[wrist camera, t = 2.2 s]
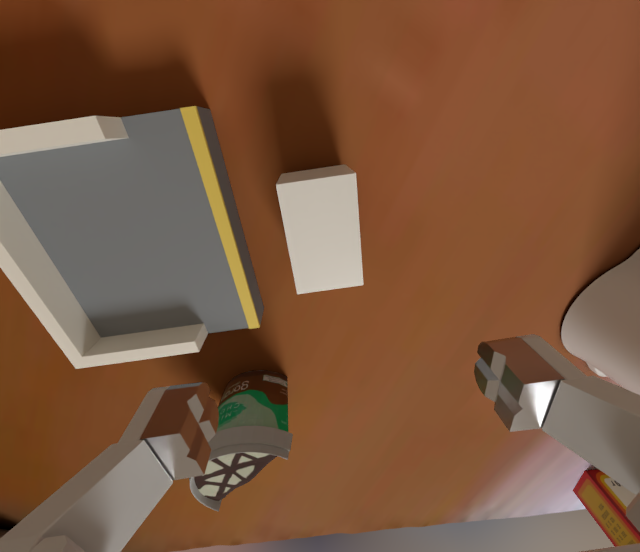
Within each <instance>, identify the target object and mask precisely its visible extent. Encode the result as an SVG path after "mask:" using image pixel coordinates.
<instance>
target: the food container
mask: <svg viewBox="0 0 640 552" xmlns="http://www.w3.org/2000/svg"><path fill="white" fill-rule="evenodd" d="M218 412H219V421H218V428H217V431H216V435H215V436H214V437H213V438H212V439H211V440H210V441H209V442H208V443H209V445H210V448H211V453H210V457H209V460H208V464H207V467H206V471H205V474H204V475H201V476H196V477H190V478H189V480H190V489H191V492H192V494H193V495H194V497H195V498H196V499H197V500H198V501H199V502H201V503H202V504H203V505H205V506H207V507H209V508H211V509H213V510H216V511H219V508H220V504H221V500H222V499H223V498H224V497H225V496H226V495H227V494H228V493H230V492H231V491H233V490H234V489H235V488H237V487H239V486H241V485H244V484H245V483H247V482H249V481H250V480H251V479H253V478H254V477H255V476H256V475H257V474H258V473H259V472H260V471H261V470H262V469H263V468H264V467H265V466H266V465H267V464H268V463H269V462H270V461H272V460H273V459H274V458H275V457H277V456H279V457H282V458H285V459H287V460H288V454H289V451H290V449H291V442H292V436H293V434H291V433H289V432H288V392H287V377H286V376H284V375H282V374H280V373H276V372H271V371H267V370H253V371H249V372H245V373H242V374H240V375H238V376H236V377H234V378H233V379H232V380H231V381H230V382H229V383H228V384H227V386H226V388H225V391H224V393H223V396H222V398H221V401H220V403H219V406H218Z"/></svg>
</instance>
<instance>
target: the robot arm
mask: <svg viewBox="0 0 640 552" xmlns="http://www.w3.org/2000/svg"><path fill="white" fill-rule="evenodd" d="M561 338H562V342H563V345H564V347H565V348H566V349H567V350H568V351H569V352H570V353H571V354H573V355H574V356H576V357H578V358H580V359H582V360H584V361H585V362H586V363H587V365H588V367H589V368H590V369H591V370H592V371H593V372H595V373H596V374H598V375H599V376H602V377H604V376H608V377H609V378H611V379H612V380H614V381H615V382H616V383H618V384H619V385H621V386H622V387H624V388H625V389H624V388H622V387H619V386H617V385H614V384H612V383H609V382H607V381H605V380H602V379H600V378H597V377H595V376H588V377H587V376H586V375H585V374H584V373H583V372H581V371H580V370H579V369H578V368H577V367H575V366H574V365H573V364H572V363H571V362H569V361H568V360H567V359H566V358H565V357H564V356H562V355H561V354H560V353H559V352H558V351H556V350H555V349H554V348H553V347H552V346H551V345H549V344H548V343H547V342H546V341H545V340H543V339H542V338H541V337H540V336H537V335H535V334H531V335H525V336H518V337H512V338H505V339H499V340H492V341H486V342H481V343H480V345H479V346H478V351H477V353H478V354H479V355H480V357H481V358H480V359H479V360H478V361H477V362H476V363H475V369H474V373H475V378H476V382H477V384H478V386H479V388H480V390H481V391H482V393H483V394H484V396H486V397H487V398H489V399H491V400H492V401H494V402H495V406H494V410H495V411H496V413H497V414H498V416H499V417H500V419H501V420H502V421H503V423H504V424H505V426H506V427H507V428H508V430H509V431H510V432H511V431H520V430H529V429H538V428H542V430H543V431H544V432H546V433H547V434H549V435H550V436H551V437H553V438H554V439H556V440H557V441H559V442H560V443H562V444H563V445H564V446H566V447H567V448H569V449H570V450H572V451H573V452H575V453H576V454H577V455H579V456H580V457H582V458H583V459H585V460H586V461H588V462H589V463H590V464H592V465H593V466H595V467H596V468H598V469H599V470H601V471H602V472H603V473H605V474H606V475H608V476H609V477H611V478H612V479H613V480H615V481H616V482H618V483H619V484H621V485H622V486H624V487H625V488H626V489H628V490H629V491H631V492H632V493H634V494H635V495H636V496H635V498H634V499H633V500H632V502H631V503H630V504H629V505H628V507H627V508H626V516H627V518H628V519H629V520H630V521H631V522H632V524H633V525H634V526H635V527H636V528H637V530H638V531H639V532H640V248H639V249H638V250H637V251H636V252H635V253H634V254H633V255H632V256H631V257H630V258H629V259H627V260H626V261H624V262H623V263H621V264H619V265H618V266H616V267H614V268H613V269H611V270H609V271H608V272H606V273H605V274H603V275H602V276H600V277H599V278H598V279H596V280H595V281H594V282H593V283H592V284H590V285H589V286H588V287H587V288H586V289H585V290H584V291H583V292H582V293H581V294H580V295H579V296H578V298H577V299H576V300H575V301H574V303H573V304H572V306H571V307H570V309H569V310H568V312H567V314H566V316H565V319H564V321H563V325H562V330H561ZM626 389H627V390H626ZM210 391H211V390H210V388H209V386H208V385H207V383H205V382H200V383H192V384H183V385H175V386H169V387H160V388H153V389H152V390H150V391H149V392H148V393H147V395H146V396H145V398H144V400H143V401H142V403H141V405H140V407H139V408H138V410H137V412H136V413H135V415H134V417H133V418H132V420H131V422H130V423H129V425H128V427H127V428H126V430H125V432H124V434H123V435H122V437H121V439H120V440H119V442H118V443H117V444H112V445H111V446H109V447H108V448H107V449H106V450H105V451H103V452H102V453H101V454H100V455H99V456H97V457H96V458H95V459H94V460H93V461H92V462H90V463H89V464H88V465H87V466H86V467H84V468H83V469H82V470H81V471H80V472H79V473H77V474H76V475H75V476H74V477H73V478H71V479H70V480H69V481H68V482H67V483H65V484H64V485H63V486H62V487H61V488H60V489H58V490H57V491H56V492H55V493H54V494H52V495H51V496H50V497H49V498H48V499H46V500H45V501H44V502H43V503H42V504H41V505H39V506H38V507H37V508H36V509H35V510H33V511H32V512H31V513H30V514H29V515H27V516H26V517H25V518H24V519H23V520H22V521H20V522H19V523H18V524H17V525H16V526H14V527H13V528H12V529H11V530H10V531H9V532H7V533H6V534H5V535H4V536H3V537H1V538H0V552H120V551H121V550H122V549H123V548H124V546H125V545H126V544H127V542H128V541H129V540H130V538H131V537H132V536H133V534H134V533H135V532H136V530H137V529H138V528H139V527H140V525H141V524H142V523H143V521H144V520H145V519H146V517H147V516H148V515H149V513H150V512H151V511H152V510H153V508H154V507H155V506H156V504H157V503H158V502H159V500H160V499H161V498H162V496H163V495H164V494H165V493H166V491H167V490H168V489H169V487H170V486H171V485H172V483H173V481H172V480H178V479H184V478H190V477H196V476H201V475H204V474H205V471H206V467H207V464H208V460H209V457H210V453H211V448H210V445H209V443H208V442H209V441H210V440H211V439H212V438H213V437H214V436H215V435H216V431H217V428H218V421H219V412H218V406H217V404H216V402H215V400H213V399H211V398H210V397H208V396H209V393H210ZM581 552H640V543H638V544H631V545H624V546H617V547H610V548H603V549H595V550H589V551H581Z"/></svg>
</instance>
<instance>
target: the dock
mask: <svg viewBox="0 0 640 552" xmlns="http://www.w3.org/2000/svg"><path fill="white" fill-rule="evenodd" d="M0 268H1V269H2V270H3V272H4V273H5V274H6V276H7V277H8V278H9V280H10V281H11V282H12V284H13V285H14V286H15V288H16V289H17V290H18V292H19V293H20V294H21V296H22V297H23V298H24V300H25V301H26V302H27V304H28V305H29V307H30V308H31V309H32V311H33V312H34V313H35V315H36V316H37V317H38V319H39V320H40V321H41V323H42V324H43V325H44V327H45V328H46V329H47V331H48V332H49V333H50V335H51V336H52V337H53V339H54V340H55V341H56V343H57V344H58V346H59V347H60V348H61V350H62V351H63V352H64V354H65V355H66V356H67V358H68V359H69V360H70V362H71V363H72V364H73V366H74V367H75V368H76V369H78V368H86V367H93V366H100V365H108V364H115V363H122V362H129V361H137V360H144V359H151V358H159V357H166V356H173V355H180V354H188V353H195V352H200V349H201V347H202V345H203V343H204V341H205V339H206V337H207V335H208V333H215V332H222V331H229V330H236V329H244V328H249V329H253V328H260V324H261V319H262V315H263V310H264V307H263V303H262V299H261V296H260V292H259V288H258V285H257V281H256V277H255V274H254V270H253V266H252V262H251V259H250V255H249V251H248V248H247V244H246V240H245V237H244V233H243V229H242V226H241V222H240V218H239V215H238V211H237V207H236V203H235V200H234V196H233V192H232V189H231V185H230V181H229V178H228V174H227V170H226V167H225V163H224V159H223V156H222V152H221V148H220V144H219V141H218V137H217V133H216V130H215V126H214V122H213V119H212V115H211V111H210V109H206V108H202V107H198V106H191V107H184V108H180V109H174V110H167V111H160V112H154V113H147V114H140V115H134V116H127V117H107V116H89V117H82V118H76V119H69V120H62V121H56V122H49V123H43V124H36V125H29V126H23V127H16V128H9V129H3V130H0Z"/></svg>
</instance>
